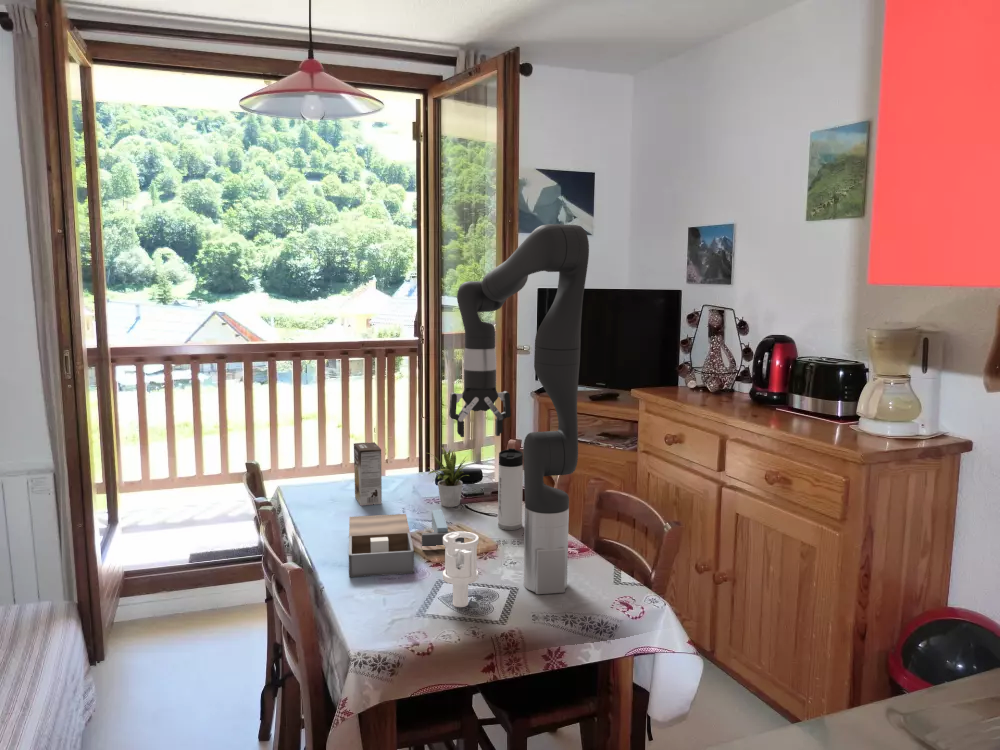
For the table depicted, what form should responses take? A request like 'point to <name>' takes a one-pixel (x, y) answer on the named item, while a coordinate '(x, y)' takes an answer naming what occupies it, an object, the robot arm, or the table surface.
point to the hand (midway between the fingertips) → (480, 436)
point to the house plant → (449, 480)
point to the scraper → (438, 530)
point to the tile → (379, 544)
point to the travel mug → (510, 489)
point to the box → (381, 562)
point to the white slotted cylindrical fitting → (460, 565)
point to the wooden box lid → (379, 532)
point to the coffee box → (368, 473)
